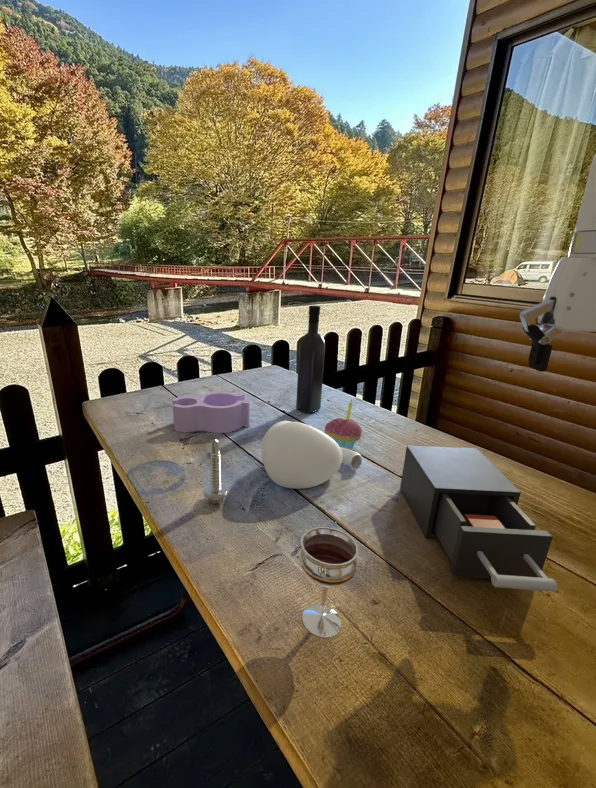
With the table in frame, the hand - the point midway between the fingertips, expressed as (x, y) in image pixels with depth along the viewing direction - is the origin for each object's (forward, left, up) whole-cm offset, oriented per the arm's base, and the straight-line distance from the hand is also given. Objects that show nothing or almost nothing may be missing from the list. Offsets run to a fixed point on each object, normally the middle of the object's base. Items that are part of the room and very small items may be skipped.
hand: (571, 369), depth 60 cm
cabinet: (+12, -2, -28) cm, 30 cm away
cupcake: (+27, -26, -28) cm, 47 cm away
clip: (+60, -38, -28) cm, 76 cm away
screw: (+54, -2, -28) cm, 61 cm away
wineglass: (+37, +23, -28) cm, 52 cm away
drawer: (+12, +10, -27) cm, 31 cm away
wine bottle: (+33, -50, -28) cm, 66 cm away
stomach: (+38, -16, -28) cm, 50 cm away
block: (+12, +9, -26) cm, 30 cm away
